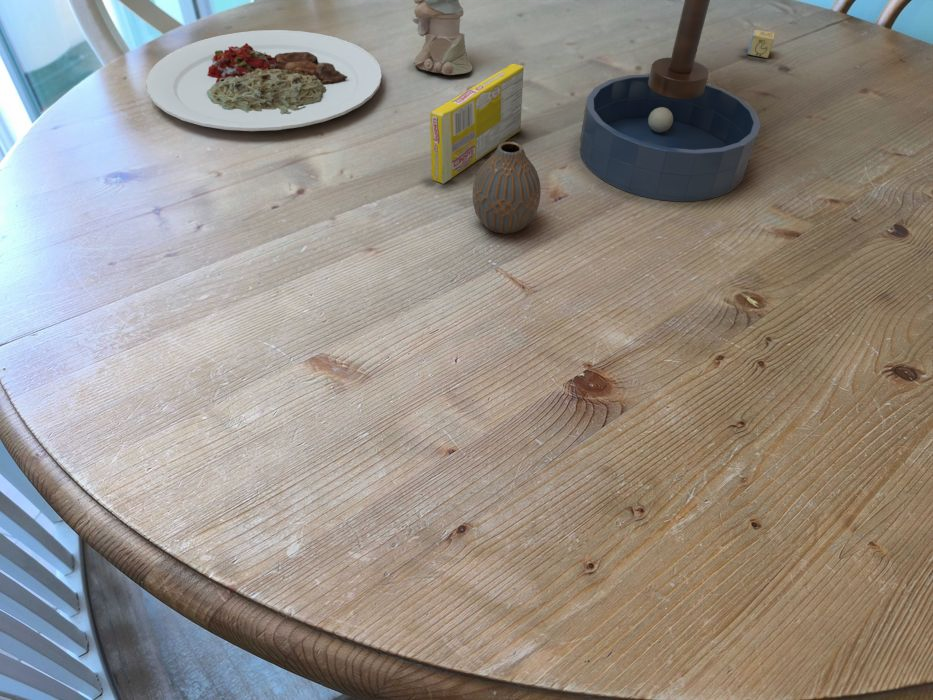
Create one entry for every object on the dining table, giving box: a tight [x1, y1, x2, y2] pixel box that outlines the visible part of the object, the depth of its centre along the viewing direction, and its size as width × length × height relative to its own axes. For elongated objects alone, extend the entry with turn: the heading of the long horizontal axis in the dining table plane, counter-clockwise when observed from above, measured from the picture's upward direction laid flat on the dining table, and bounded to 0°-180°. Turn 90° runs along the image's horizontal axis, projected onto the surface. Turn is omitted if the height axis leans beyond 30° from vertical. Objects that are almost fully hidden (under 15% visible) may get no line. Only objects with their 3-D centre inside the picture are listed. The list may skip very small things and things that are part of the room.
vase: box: [472, 141, 542, 235], centre depth 76 cm, size 7×7×9 cm
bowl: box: [579, 73, 762, 202], centre depth 88 cm, size 20×20×6 cm
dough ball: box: [648, 107, 673, 133], centre depth 93 cm, size 3×3×3 cm
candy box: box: [429, 63, 524, 185], centre depth 86 cm, size 16×2×8 cm, turn 145°
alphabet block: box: [746, 29, 776, 59], centre depth 114 cm, size 3×3×3 cm
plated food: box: [145, 29, 383, 132], centre depth 98 cm, size 30×30×3 cm
